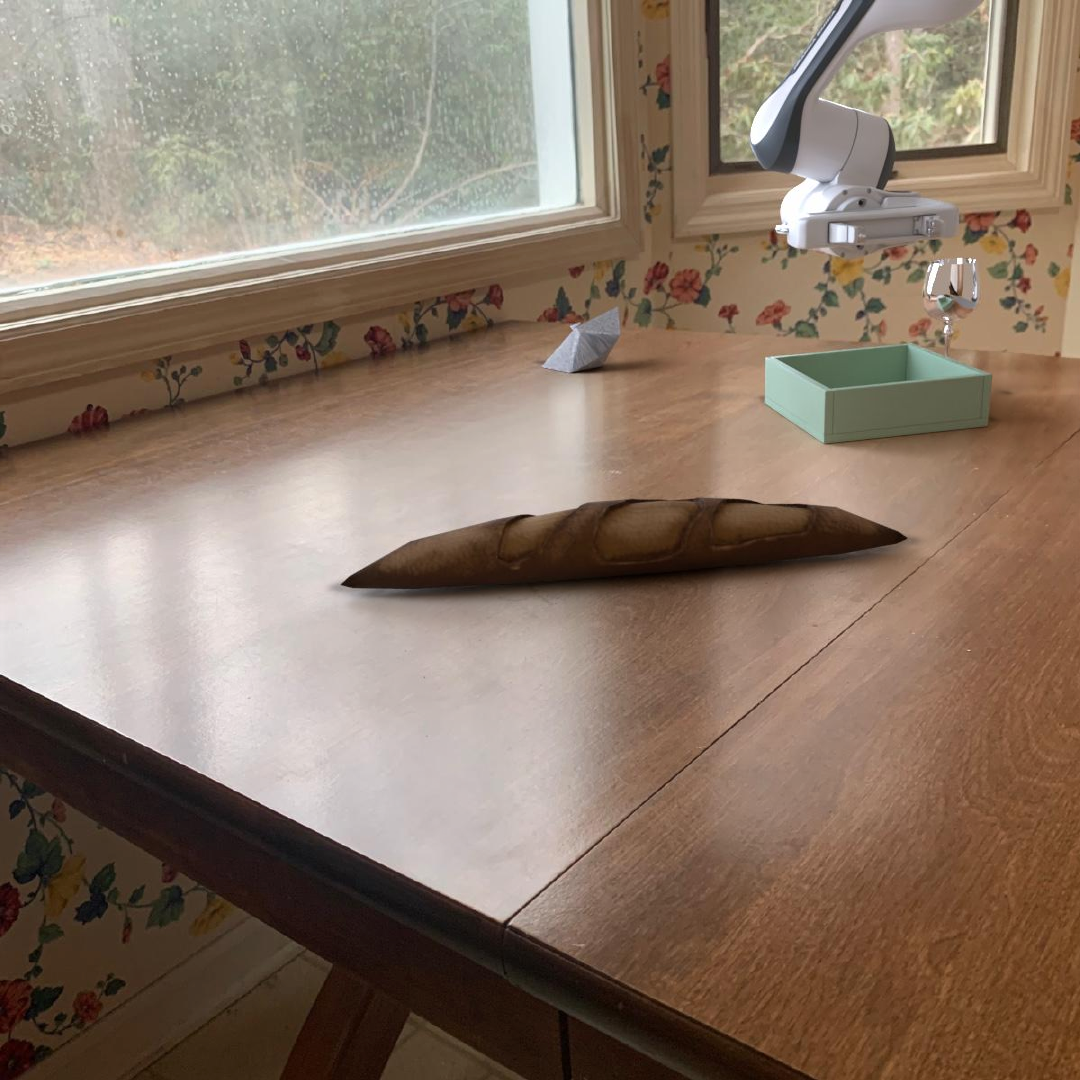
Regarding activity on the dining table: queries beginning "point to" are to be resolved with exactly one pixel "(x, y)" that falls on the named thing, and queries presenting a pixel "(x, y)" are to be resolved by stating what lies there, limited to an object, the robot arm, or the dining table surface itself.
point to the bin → (876, 392)
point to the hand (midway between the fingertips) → (899, 231)
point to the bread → (623, 542)
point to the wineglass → (951, 292)
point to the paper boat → (587, 344)
